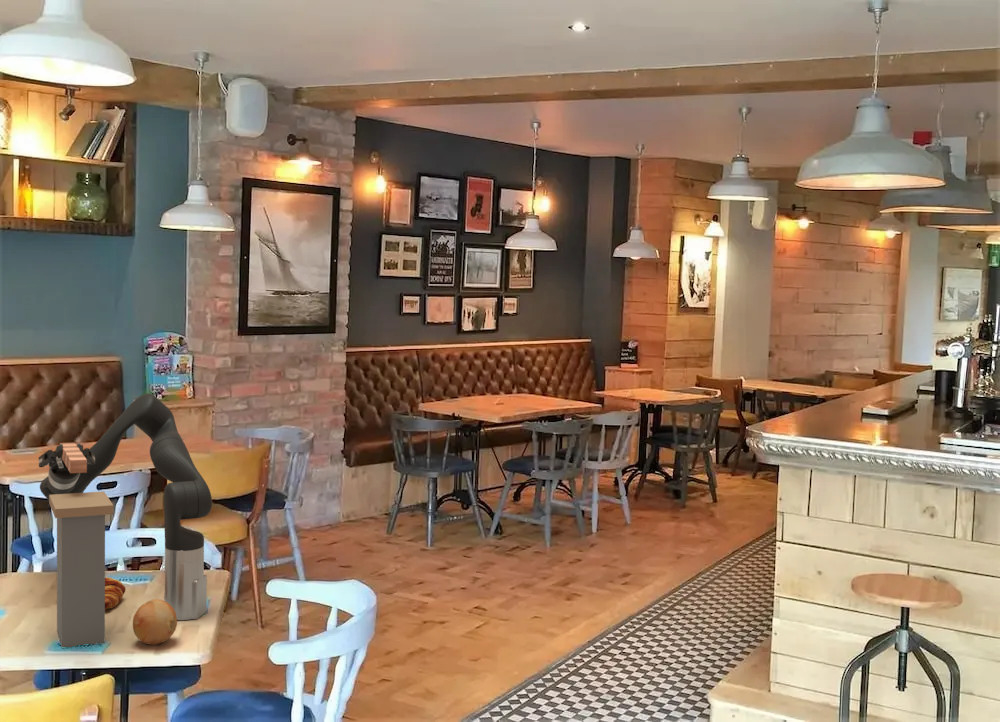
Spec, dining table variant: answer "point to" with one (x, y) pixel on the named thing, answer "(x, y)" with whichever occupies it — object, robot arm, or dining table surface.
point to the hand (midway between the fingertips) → (70, 447)
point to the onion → (154, 622)
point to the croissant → (113, 592)
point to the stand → (80, 566)
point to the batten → (74, 458)
